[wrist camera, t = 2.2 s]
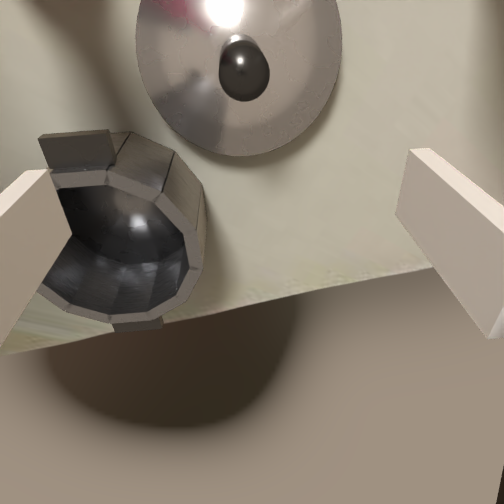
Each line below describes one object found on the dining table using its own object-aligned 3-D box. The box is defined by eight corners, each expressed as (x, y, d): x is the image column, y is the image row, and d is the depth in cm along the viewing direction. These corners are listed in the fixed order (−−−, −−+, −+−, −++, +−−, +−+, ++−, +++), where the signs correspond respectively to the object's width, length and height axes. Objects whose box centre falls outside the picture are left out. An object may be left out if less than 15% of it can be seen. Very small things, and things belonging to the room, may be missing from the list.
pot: (11, 114, 34) (-48, 149, 27) (189, 100, 34) (179, 131, 27) (85, 287, 46) (59, 344, 39) (215, 277, 46) (214, 331, 39)
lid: (118, -65, 27) (76, -85, 20) (342, -81, 28) (388, -107, 20) (163, 153, 37) (146, 197, 29) (328, 140, 37) (355, 180, 30)
